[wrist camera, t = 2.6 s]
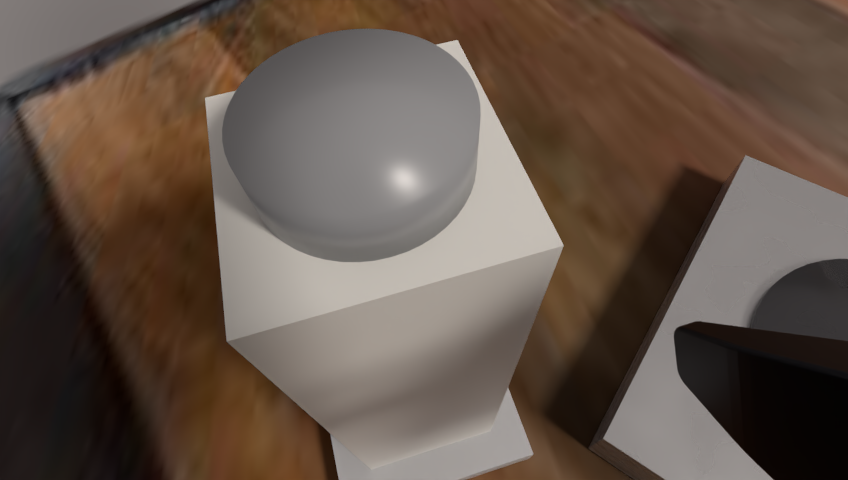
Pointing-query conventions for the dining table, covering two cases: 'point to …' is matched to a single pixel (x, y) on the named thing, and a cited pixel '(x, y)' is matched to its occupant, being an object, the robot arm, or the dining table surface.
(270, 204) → the white pedestal with button
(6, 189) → the dining table surface
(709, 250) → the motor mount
